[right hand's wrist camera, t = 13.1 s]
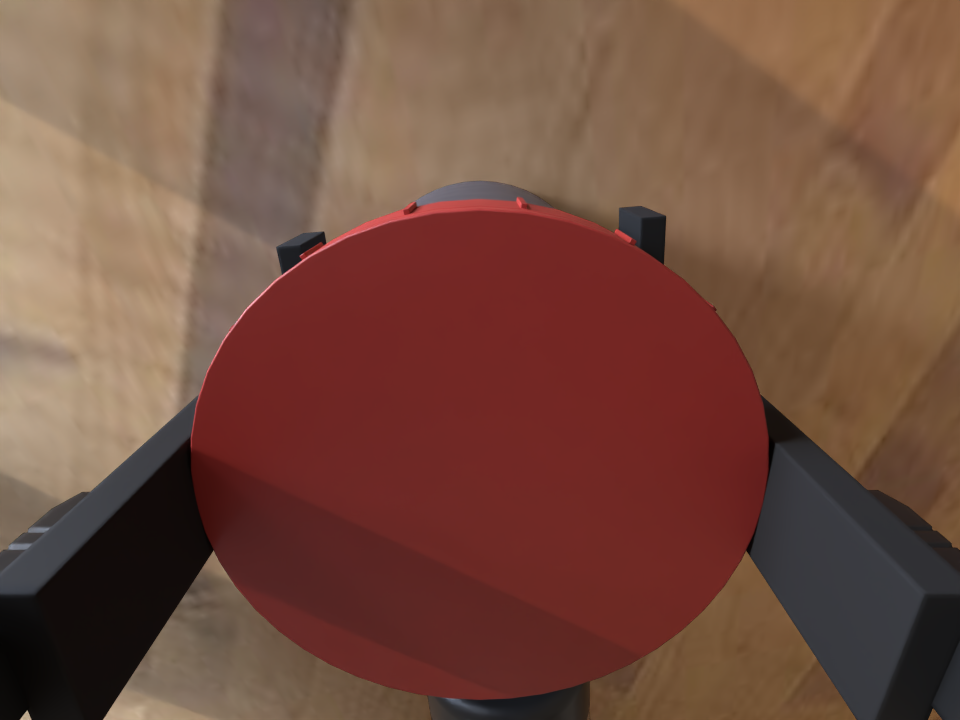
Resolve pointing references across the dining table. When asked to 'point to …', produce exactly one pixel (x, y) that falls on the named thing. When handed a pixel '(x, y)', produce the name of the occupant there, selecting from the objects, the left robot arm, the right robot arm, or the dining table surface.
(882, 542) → the right robot arm
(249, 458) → the lid
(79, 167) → the dining table surface
